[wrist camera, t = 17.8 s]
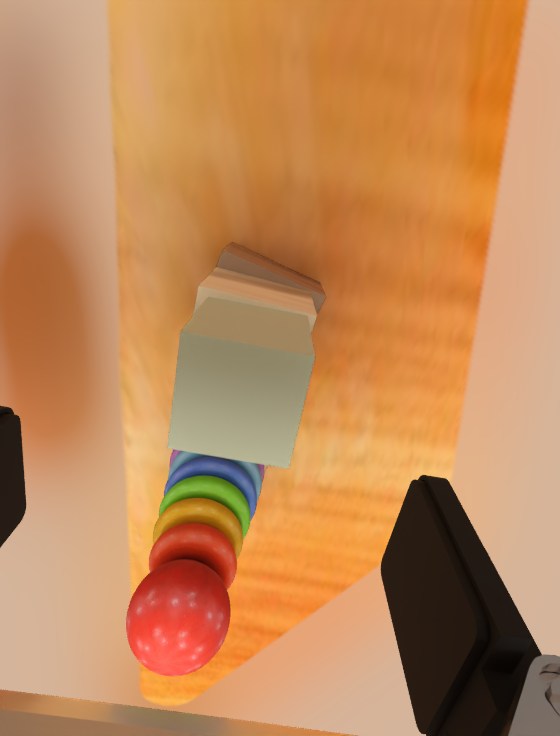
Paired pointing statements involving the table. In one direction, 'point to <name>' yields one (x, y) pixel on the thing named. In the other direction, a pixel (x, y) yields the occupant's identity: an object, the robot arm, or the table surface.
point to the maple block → (256, 293)
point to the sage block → (241, 382)
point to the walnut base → (268, 271)
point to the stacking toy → (193, 562)
